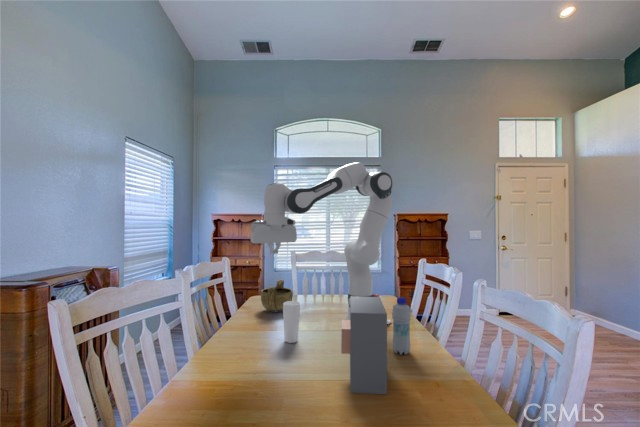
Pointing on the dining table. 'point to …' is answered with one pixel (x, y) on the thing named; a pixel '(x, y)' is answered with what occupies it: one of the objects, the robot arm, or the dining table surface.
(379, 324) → the gray rectangular box
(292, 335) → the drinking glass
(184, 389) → the dining table surface
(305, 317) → the dining table surface
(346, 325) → the pink rectangular block
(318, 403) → the dining table surface
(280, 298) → the olive brown basket
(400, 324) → the bottle
